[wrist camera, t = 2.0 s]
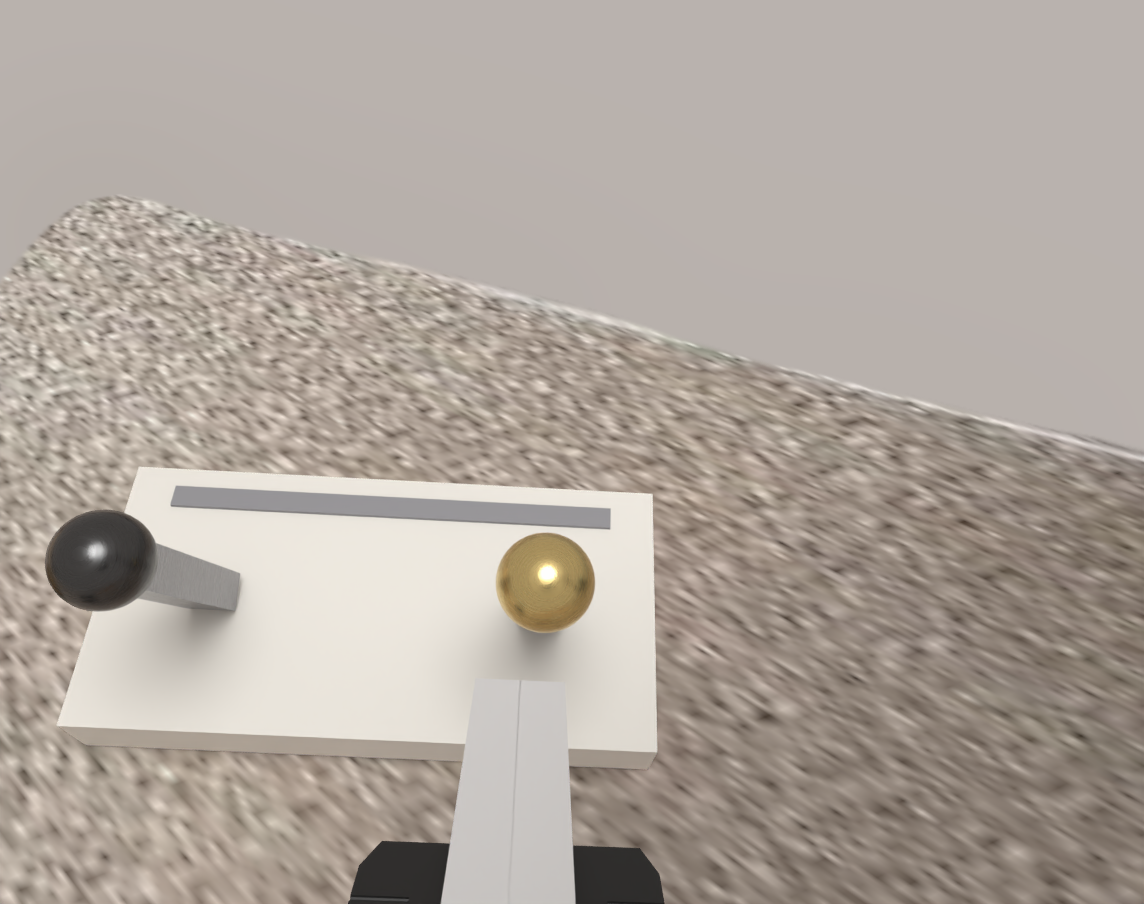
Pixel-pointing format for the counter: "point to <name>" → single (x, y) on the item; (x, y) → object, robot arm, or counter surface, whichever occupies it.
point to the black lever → (130, 567)
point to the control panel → (367, 621)
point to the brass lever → (545, 582)
